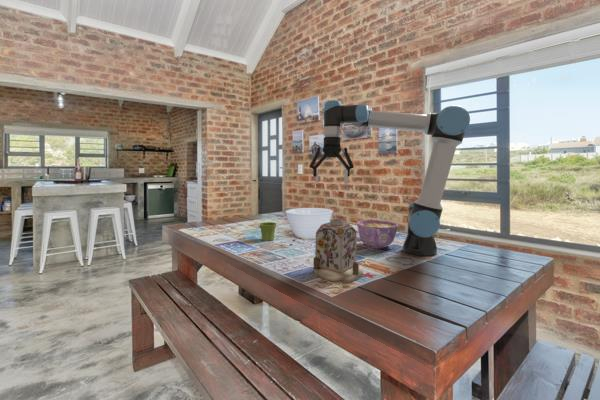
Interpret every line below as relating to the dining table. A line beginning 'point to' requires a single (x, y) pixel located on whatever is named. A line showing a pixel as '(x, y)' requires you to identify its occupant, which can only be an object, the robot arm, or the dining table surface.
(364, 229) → the bowl of food
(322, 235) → the decorative jar
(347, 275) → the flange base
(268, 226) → the plant pot
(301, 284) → the dining table surface
